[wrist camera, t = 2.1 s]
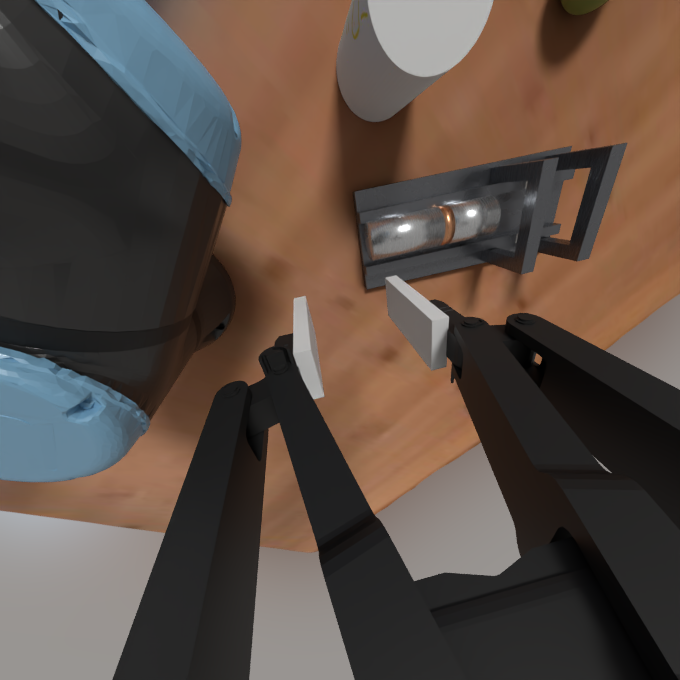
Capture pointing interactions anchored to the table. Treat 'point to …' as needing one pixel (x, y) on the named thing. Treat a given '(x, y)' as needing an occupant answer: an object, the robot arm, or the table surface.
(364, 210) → the collar rail
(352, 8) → the white cylinder
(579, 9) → the pear
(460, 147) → the table surface
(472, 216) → the tube
